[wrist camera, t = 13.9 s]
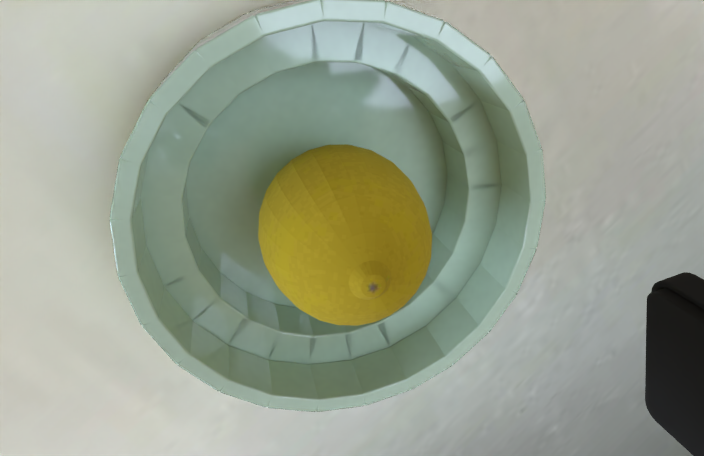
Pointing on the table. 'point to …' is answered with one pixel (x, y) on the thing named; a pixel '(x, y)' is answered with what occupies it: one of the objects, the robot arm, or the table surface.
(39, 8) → the table surface
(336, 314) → the lemon
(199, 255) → the bowl
